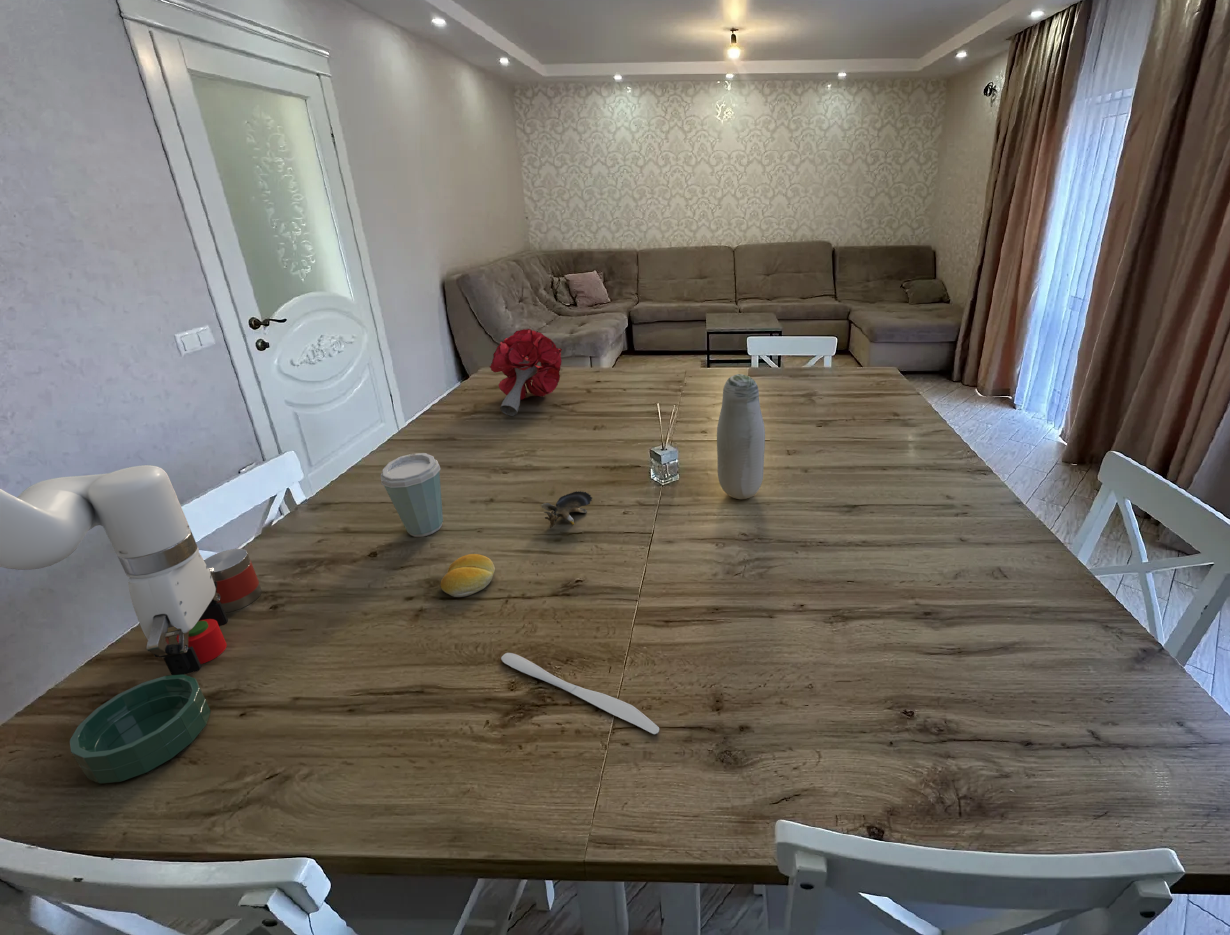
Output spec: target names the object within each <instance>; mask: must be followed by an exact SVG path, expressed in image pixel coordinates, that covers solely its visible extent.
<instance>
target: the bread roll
mask: <svg viewBox="0 0 1230 935" xmlns="http://www.w3.org/2000/svg"><path fill="white" fill-rule="evenodd" d="M495 571H496V568H495V565H494V562H493V561H492V559H490V558H489V557H487V556H485V555H483V554H480V553H470V554H469V553H468V554H465V555H462V556H461V557H458V558H457V559H456V560H454V561H453V562H452V563H451V564H450V565H449V567H448V569H447V572H446V573H445V575H444V576H443V577H442V579H441V581H440V589H441V591H443V593H446V594H447V595H449V596H451V597H453V598H464V597H468V596H472V595H474V594H476V593H479V592H481V591H482V590H484V589H485V588H486V587H487V586H488V585H489V584H490V583H491V581H492V579H493V577H494V574H495Z"/></svg>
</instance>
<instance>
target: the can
mask: <svg viewBox="0 0 1230 935" xmlns="http://www.w3.org/2000/svg"><path fill="white" fill-rule="evenodd" d="M203 560H204V562H205V563H206V565H207V567H208V568H213V569H214V576H215V580H214V581H216V582H217V584H218V585H217V592H216V593H218V594H220V601H219V602H221V604H222V607H223V609H224V611H225V613H231V612H235V611H238V610H240V609H241V610H242V609H244V608H245V607H248V606H249V605H251V604H252V603H254V602H255V601H256V600H258V599H259V598H260V596H261V595H262V592H263V590H262V587H261V585H260V581H259V579H258V576H257V573H256V570H255V568H254V565H253V563H252V560H251V558H250V555H249V553H248V551H247V550H246V549H243V548H231V549H226V550H223V551H219V552H217V553H215V554H212V555H211V556H208V557H207V558H205V559H203ZM217 603H218V602H217Z"/></svg>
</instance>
